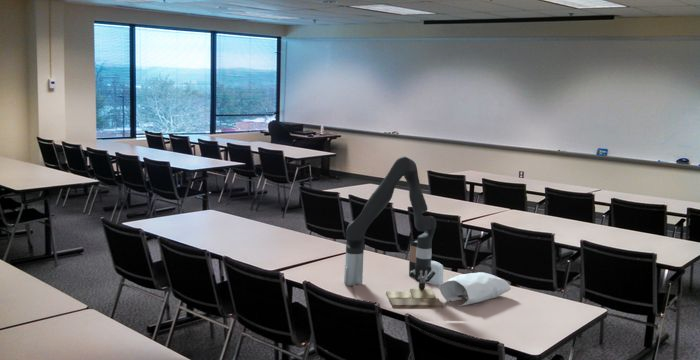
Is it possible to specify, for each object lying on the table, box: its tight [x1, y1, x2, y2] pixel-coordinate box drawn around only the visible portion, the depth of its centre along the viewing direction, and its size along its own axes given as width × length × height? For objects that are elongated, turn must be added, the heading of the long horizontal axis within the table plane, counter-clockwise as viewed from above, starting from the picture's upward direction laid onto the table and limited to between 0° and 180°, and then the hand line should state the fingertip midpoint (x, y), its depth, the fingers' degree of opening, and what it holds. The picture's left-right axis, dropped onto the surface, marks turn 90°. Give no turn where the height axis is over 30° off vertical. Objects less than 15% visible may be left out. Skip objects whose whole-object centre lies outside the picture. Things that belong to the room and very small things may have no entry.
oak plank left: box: [385, 291, 412, 301], centre depth 312 cm, size 11×9×2 cm
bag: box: [437, 271, 511, 307], centre depth 316 cm, size 19×19×35 cm
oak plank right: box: [409, 288, 437, 298], centre depth 313 cm, size 11×9×2 cm
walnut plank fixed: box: [388, 297, 444, 309], centre depth 303 cm, size 24×9×2 cm, turn 96°
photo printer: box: [426, 260, 444, 286], centre depth 338 cm, size 10×4×12 cm, turn 39°
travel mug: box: [408, 238, 419, 279], centre depth 350 cm, size 8×8×20 cm
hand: (421, 289), depth 316 cm, fingers closed
